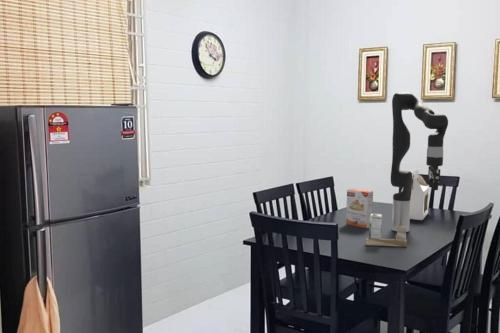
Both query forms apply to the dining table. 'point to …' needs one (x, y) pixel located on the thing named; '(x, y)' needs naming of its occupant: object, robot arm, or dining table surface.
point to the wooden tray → (390, 242)
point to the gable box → (418, 197)
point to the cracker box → (359, 207)
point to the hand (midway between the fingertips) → (433, 188)
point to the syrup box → (375, 226)
